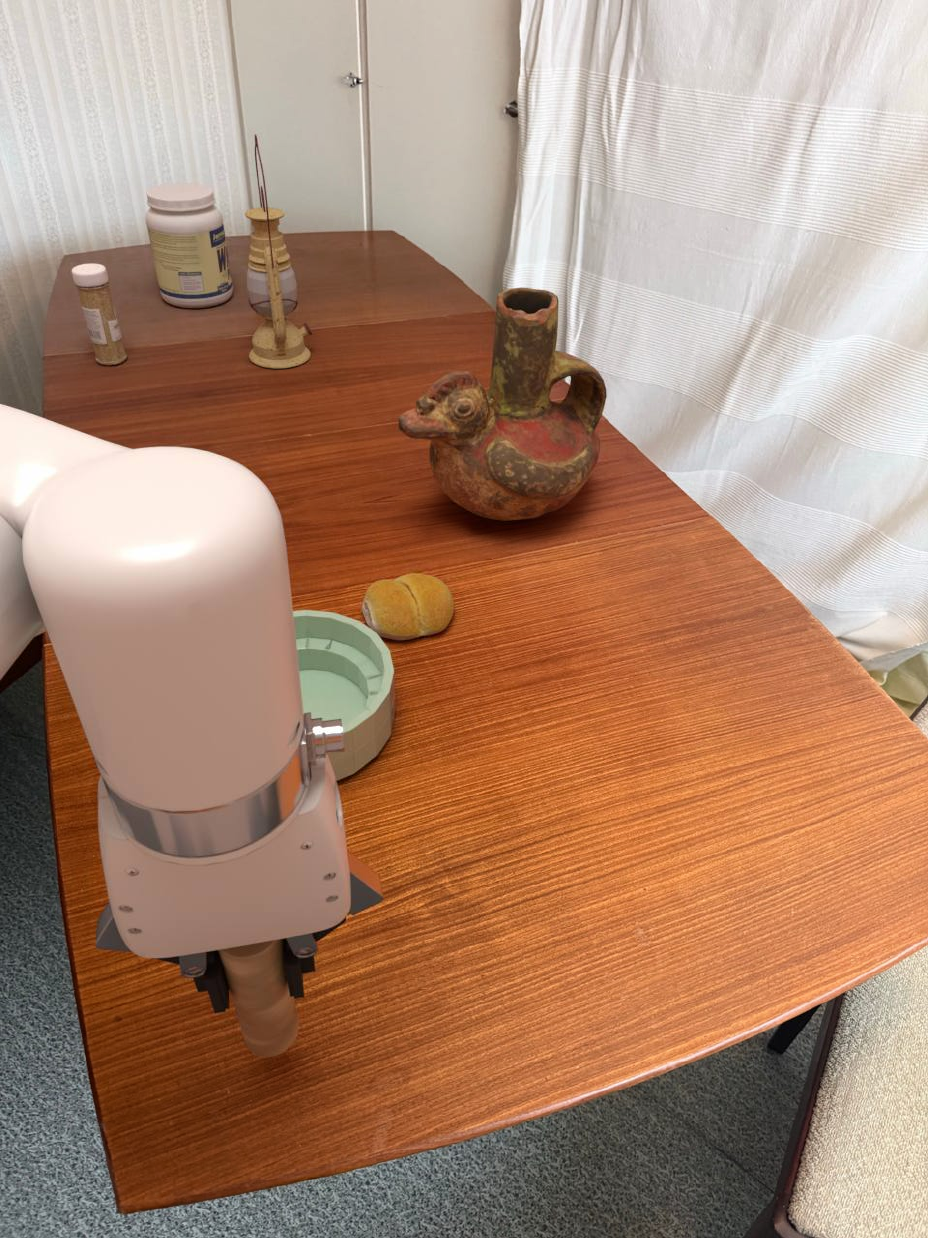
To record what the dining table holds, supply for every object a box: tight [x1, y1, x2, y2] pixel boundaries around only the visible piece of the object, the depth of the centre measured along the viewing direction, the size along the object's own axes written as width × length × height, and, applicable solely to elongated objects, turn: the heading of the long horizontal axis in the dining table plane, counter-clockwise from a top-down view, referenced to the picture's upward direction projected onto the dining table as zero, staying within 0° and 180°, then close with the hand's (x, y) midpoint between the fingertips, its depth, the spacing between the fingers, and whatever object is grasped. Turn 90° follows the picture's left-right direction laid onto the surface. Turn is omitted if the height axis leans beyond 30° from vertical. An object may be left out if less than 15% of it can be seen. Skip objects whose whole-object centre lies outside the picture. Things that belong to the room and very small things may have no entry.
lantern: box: [244, 133, 313, 369], centre depth 117 cm, size 12×10×30 cm
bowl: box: [293, 609, 396, 781], centre depth 70 cm, size 16×16×6 cm
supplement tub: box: [145, 182, 234, 309], centre depth 138 cm, size 12×12×17 cm
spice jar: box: [71, 262, 128, 366], centre depth 120 cm, size 5×5×14 cm
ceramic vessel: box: [397, 287, 608, 522], centre depth 90 cm, size 17×26×25 cm, turn 121°
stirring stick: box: [218, 938, 300, 1058], centre depth 45 cm, size 3×3×12 cm
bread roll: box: [361, 572, 455, 641], centre depth 82 cm, size 8×9×4 cm
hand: (259, 976), depth 44 cm, fingers closed on stirring stick, 3 cm apart
